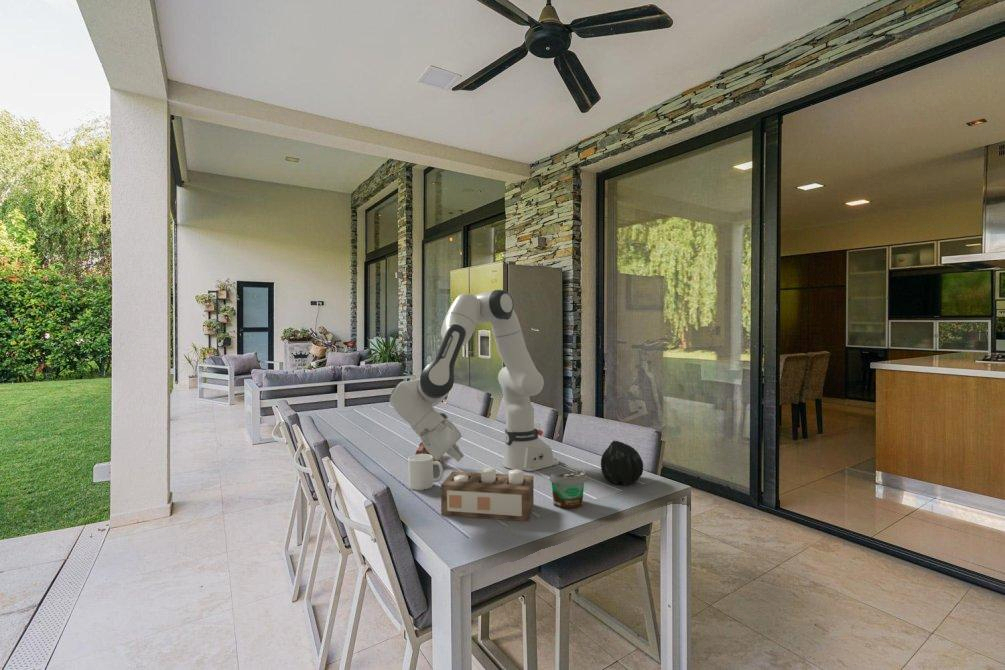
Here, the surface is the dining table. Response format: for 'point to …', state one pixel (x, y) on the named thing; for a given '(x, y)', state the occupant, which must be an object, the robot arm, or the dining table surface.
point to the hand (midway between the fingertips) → (461, 458)
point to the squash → (621, 463)
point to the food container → (568, 489)
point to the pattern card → (484, 503)
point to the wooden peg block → (498, 487)
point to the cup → (422, 471)
